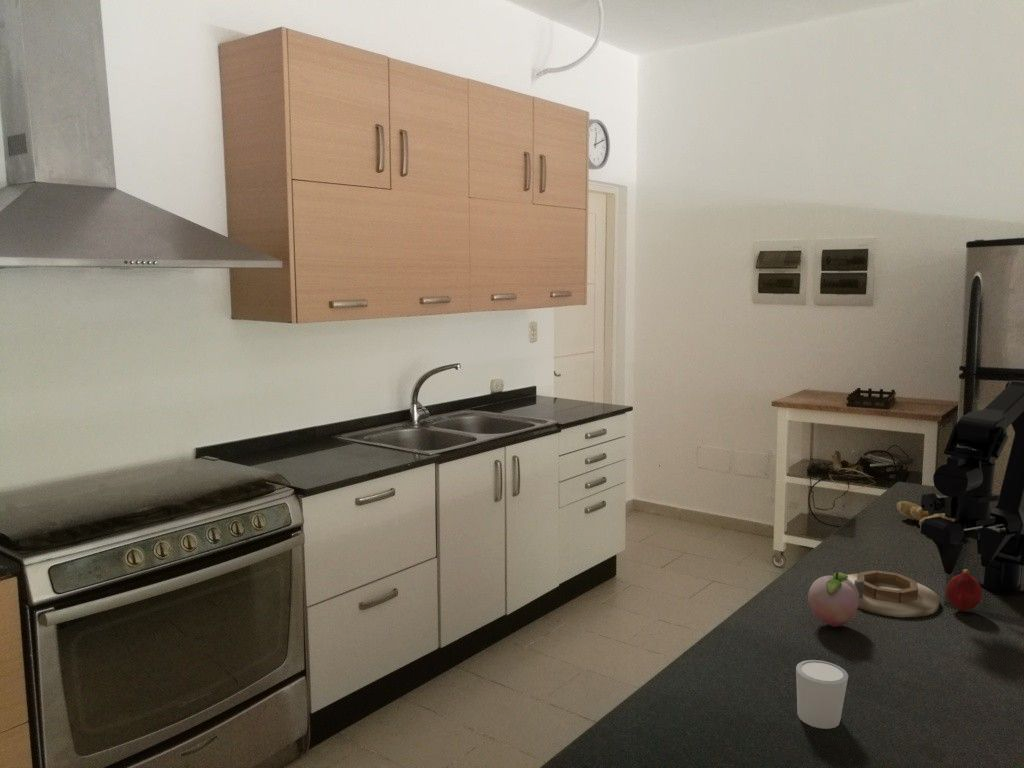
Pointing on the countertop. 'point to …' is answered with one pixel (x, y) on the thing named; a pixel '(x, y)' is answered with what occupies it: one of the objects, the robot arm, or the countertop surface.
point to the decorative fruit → (834, 599)
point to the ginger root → (917, 511)
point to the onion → (964, 591)
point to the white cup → (820, 693)
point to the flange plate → (900, 609)
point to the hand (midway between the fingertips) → (966, 570)
